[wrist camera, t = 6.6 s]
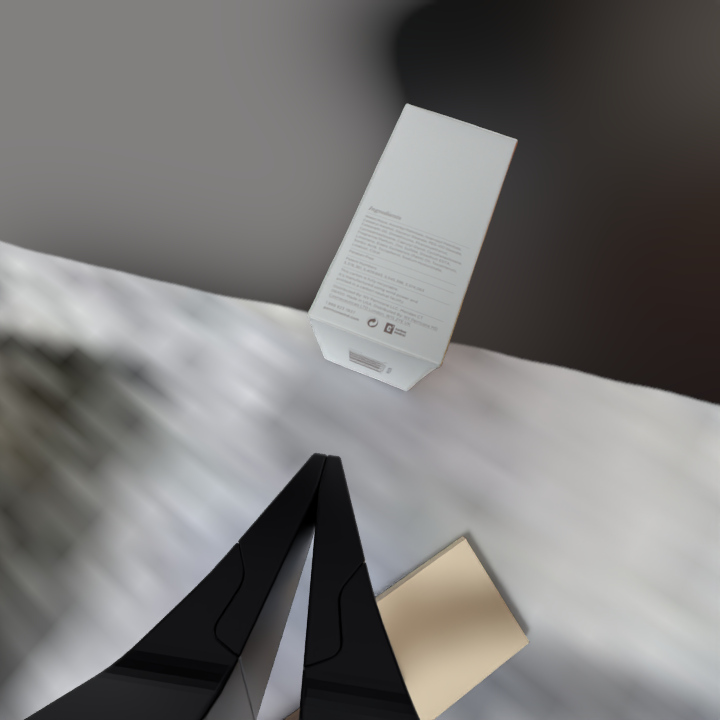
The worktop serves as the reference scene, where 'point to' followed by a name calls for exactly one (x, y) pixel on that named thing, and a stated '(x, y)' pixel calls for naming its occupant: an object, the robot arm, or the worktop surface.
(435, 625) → the wooden turner
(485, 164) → the small box
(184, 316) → the worktop surface
